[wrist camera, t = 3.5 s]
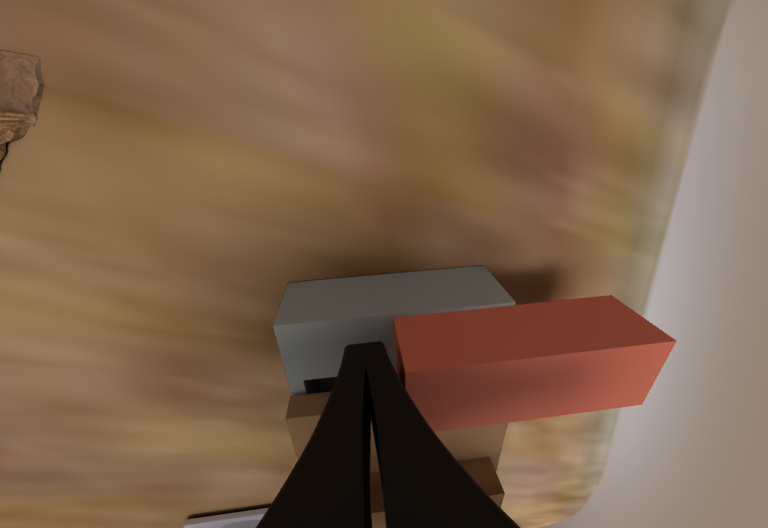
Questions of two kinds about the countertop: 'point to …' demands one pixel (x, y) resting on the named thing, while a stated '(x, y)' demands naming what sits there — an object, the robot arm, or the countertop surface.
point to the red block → (527, 361)
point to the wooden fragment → (18, 95)
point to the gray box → (367, 315)
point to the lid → (467, 445)
